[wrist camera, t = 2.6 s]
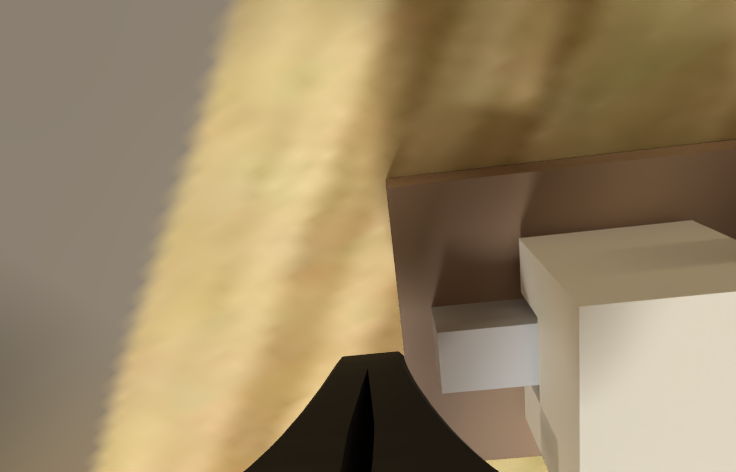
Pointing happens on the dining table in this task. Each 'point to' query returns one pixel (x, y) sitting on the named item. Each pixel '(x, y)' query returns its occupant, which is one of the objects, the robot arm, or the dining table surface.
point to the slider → (633, 348)
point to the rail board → (502, 265)
